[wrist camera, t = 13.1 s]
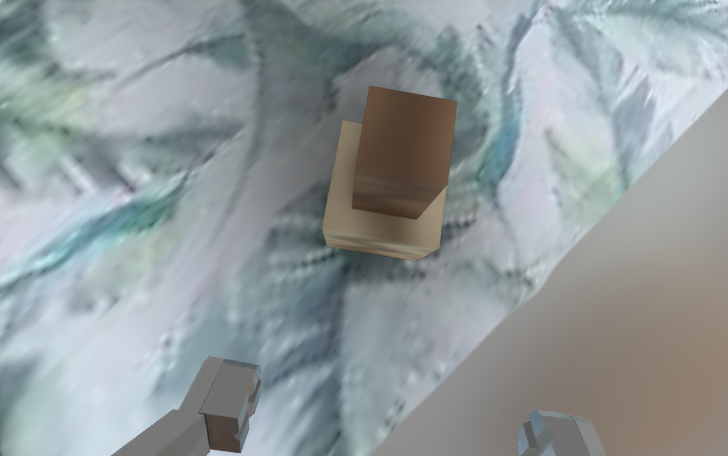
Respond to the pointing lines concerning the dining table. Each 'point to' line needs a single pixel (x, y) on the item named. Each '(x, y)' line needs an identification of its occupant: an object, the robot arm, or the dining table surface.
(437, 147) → the walnut block
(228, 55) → the dining table surface
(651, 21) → the dining table surface
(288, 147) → the dining table surface
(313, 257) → the dining table surface
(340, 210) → the pale wooden cube
